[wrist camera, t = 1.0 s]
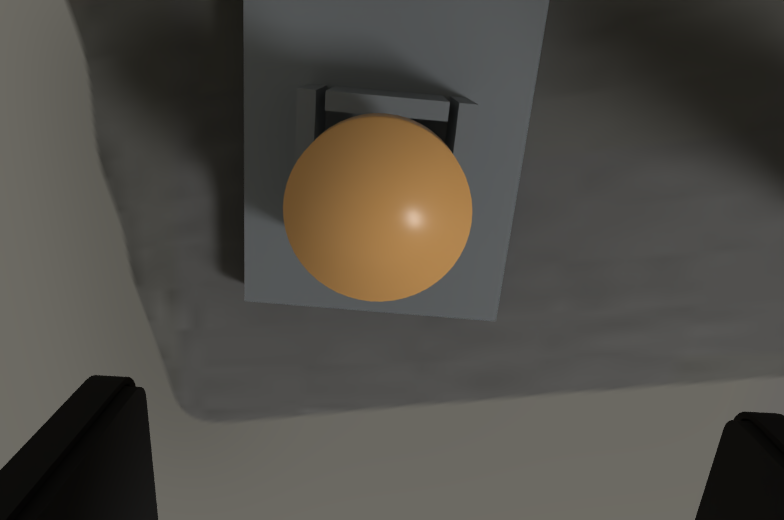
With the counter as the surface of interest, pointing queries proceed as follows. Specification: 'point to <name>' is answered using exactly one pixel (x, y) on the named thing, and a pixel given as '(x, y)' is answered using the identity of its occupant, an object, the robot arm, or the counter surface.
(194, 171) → the counter surface
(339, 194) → the knob
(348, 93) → the console
